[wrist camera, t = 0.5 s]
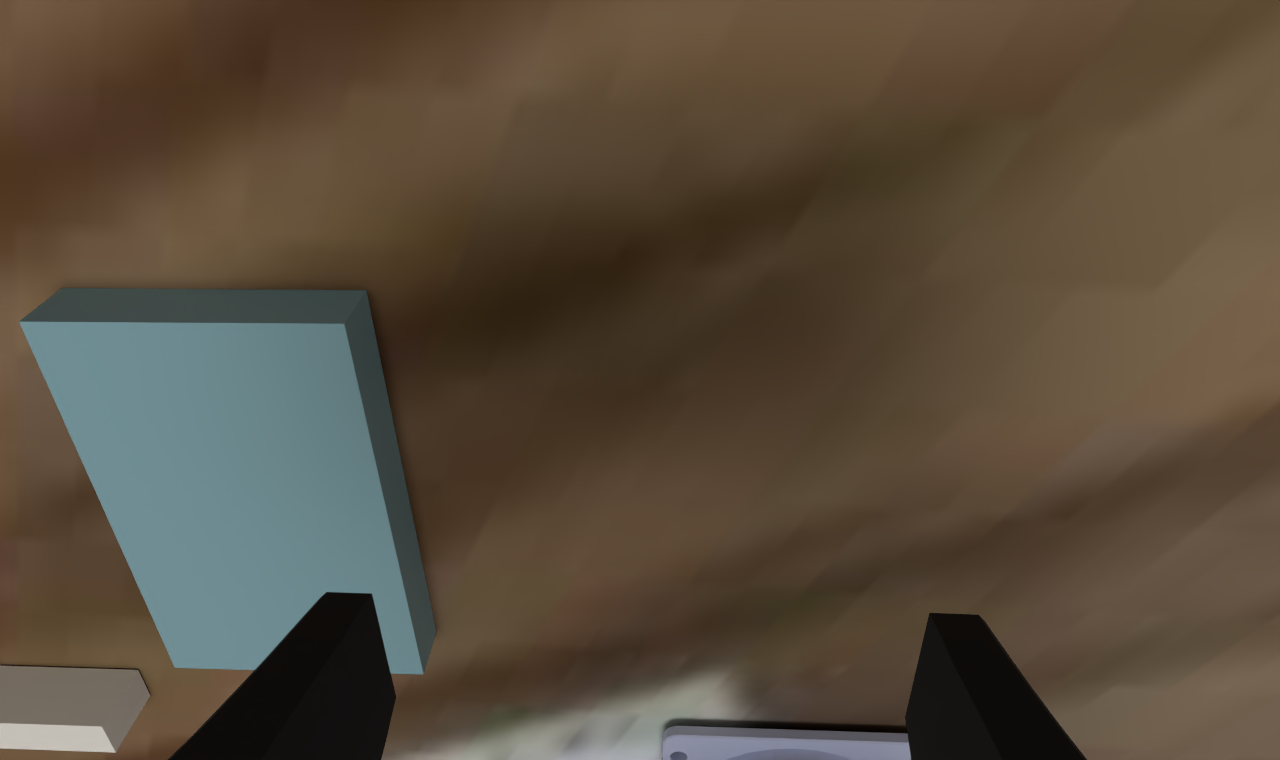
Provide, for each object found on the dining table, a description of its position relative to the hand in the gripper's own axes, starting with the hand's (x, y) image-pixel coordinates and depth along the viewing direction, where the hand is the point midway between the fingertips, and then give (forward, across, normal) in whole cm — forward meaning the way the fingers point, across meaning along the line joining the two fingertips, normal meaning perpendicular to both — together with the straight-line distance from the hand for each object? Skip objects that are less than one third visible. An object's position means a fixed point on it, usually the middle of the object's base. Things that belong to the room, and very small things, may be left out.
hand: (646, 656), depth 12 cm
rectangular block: (+10, +10, +5) cm, 15 cm away
